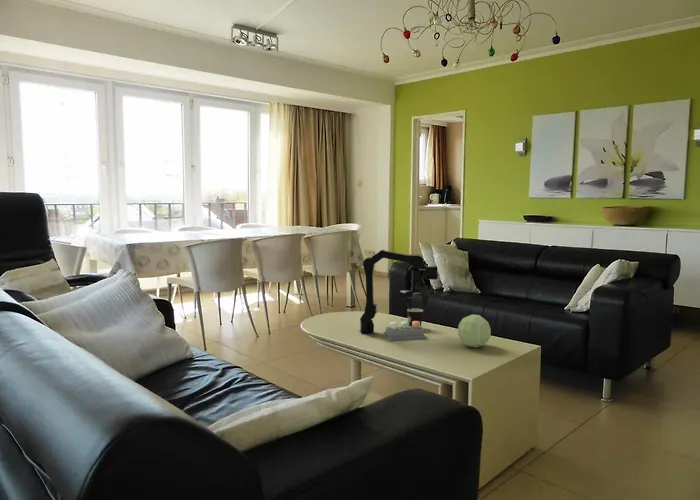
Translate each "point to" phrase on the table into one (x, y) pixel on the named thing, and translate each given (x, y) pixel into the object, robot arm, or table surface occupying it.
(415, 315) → the coffee mug
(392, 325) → the ivory button
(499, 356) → the table surface
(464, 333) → the decorative sphere
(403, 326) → the sage button
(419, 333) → the grey compartment tray
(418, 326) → the terracotta button
